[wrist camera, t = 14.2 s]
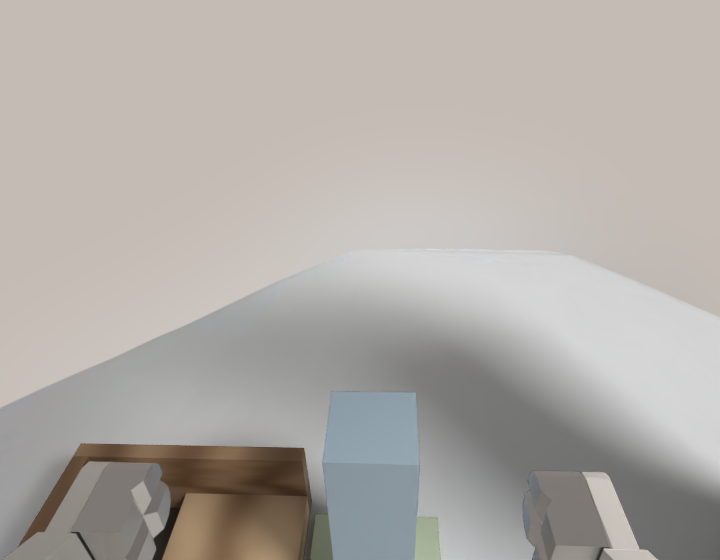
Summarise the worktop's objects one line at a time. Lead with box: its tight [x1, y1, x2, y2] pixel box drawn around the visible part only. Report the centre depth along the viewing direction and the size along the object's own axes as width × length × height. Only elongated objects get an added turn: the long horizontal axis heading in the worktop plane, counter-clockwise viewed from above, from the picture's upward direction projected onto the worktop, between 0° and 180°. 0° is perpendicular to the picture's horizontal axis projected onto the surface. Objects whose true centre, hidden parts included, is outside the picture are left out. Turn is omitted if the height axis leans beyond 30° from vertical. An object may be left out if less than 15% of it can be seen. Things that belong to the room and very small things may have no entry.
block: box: [322, 391, 420, 560], centre depth 33 cm, size 5×5×17 cm
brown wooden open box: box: [18, 444, 312, 560], centre depth 37 cm, size 18×13×7 cm
